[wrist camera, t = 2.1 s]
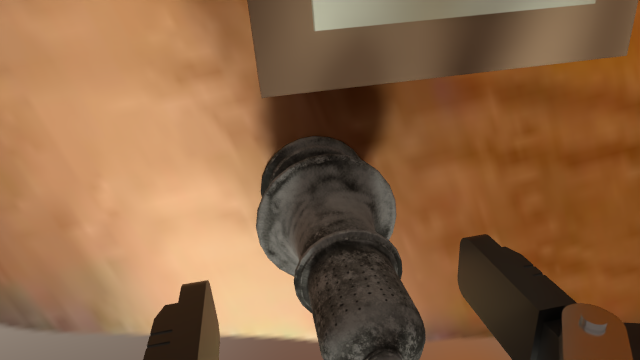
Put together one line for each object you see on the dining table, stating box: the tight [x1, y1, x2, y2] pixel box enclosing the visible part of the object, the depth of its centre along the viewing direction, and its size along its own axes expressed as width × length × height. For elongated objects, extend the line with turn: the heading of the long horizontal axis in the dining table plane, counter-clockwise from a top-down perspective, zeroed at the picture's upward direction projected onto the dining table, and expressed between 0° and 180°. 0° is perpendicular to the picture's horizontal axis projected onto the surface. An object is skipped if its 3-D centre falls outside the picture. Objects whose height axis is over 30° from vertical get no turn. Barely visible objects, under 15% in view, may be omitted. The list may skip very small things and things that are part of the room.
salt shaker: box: [256, 136, 425, 360], centre depth 15 cm, size 6×6×12 cm
